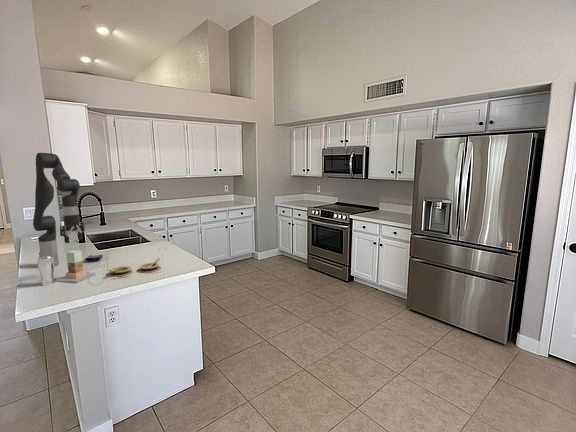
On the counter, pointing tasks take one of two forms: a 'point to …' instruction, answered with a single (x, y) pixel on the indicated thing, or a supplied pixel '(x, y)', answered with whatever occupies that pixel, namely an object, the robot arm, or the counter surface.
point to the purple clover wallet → (93, 258)
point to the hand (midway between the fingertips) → (73, 241)
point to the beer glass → (46, 270)
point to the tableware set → (127, 270)
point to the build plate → (75, 277)
